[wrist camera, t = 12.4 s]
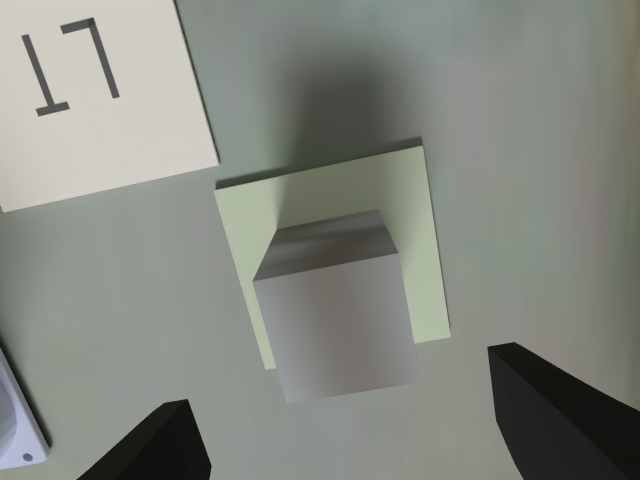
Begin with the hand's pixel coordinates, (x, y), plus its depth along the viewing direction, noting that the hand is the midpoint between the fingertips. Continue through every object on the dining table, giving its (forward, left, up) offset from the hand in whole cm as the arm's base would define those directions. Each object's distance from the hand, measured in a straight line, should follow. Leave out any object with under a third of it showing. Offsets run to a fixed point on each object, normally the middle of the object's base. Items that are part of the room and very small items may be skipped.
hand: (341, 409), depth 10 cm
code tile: (-9, +11, -10) cm, 17 cm away
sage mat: (0, 0, -10) cm, 10 cm away
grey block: (0, 0, -10) cm, 10 cm away
